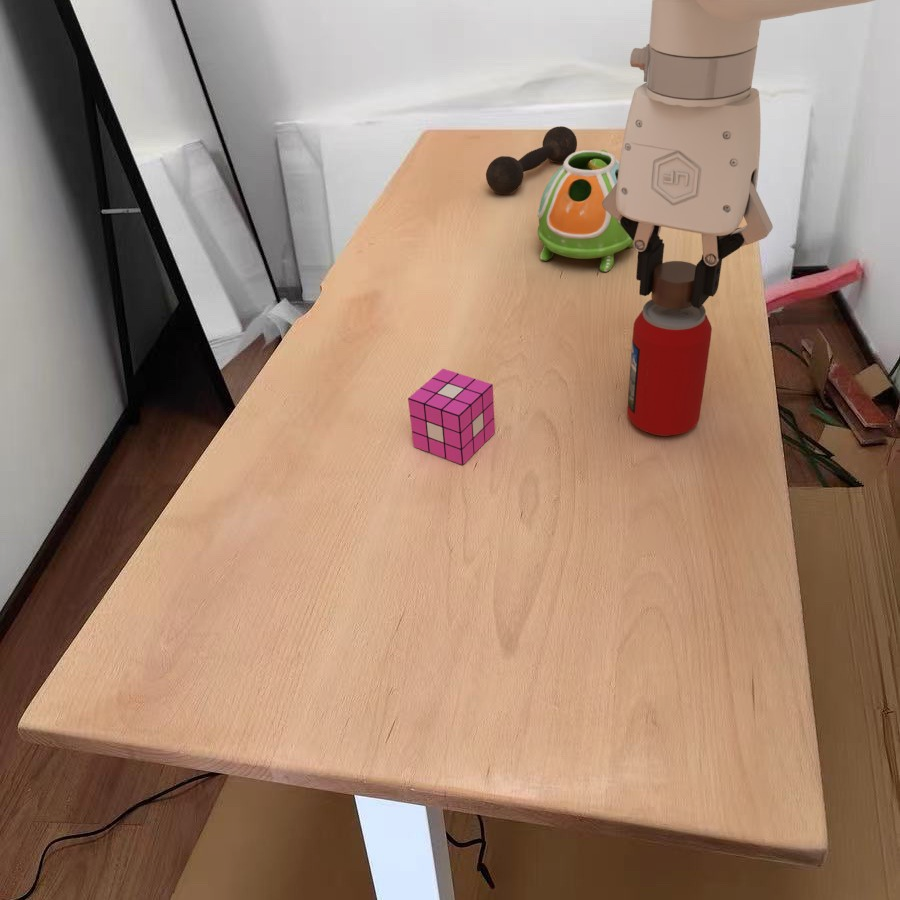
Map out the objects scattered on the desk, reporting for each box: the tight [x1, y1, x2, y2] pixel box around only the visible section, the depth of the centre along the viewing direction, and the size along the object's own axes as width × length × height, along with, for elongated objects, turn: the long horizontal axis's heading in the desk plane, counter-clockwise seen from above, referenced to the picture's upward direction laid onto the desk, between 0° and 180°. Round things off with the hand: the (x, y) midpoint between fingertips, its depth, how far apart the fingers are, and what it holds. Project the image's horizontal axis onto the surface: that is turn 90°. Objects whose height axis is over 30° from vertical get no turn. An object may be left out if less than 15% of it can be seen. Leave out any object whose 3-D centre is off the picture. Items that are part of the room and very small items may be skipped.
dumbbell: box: [485, 125, 578, 195], centre depth 131 cm, size 20×5×5 cm, turn 141°
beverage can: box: [627, 298, 713, 437], centre depth 79 cm, size 7×7×12 cm
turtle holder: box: [536, 149, 634, 273], centre depth 110 cm, size 12×18×12 cm
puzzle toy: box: [407, 368, 496, 466], centre depth 81 cm, size 6×6×6 cm
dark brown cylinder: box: [650, 260, 697, 309], centre depth 74 cm, size 4×4×2 cm
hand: (675, 292), depth 74 cm, fingers closed on dark brown cylinder, 4 cm apart
